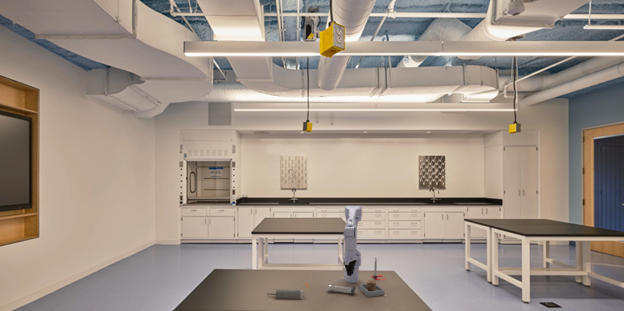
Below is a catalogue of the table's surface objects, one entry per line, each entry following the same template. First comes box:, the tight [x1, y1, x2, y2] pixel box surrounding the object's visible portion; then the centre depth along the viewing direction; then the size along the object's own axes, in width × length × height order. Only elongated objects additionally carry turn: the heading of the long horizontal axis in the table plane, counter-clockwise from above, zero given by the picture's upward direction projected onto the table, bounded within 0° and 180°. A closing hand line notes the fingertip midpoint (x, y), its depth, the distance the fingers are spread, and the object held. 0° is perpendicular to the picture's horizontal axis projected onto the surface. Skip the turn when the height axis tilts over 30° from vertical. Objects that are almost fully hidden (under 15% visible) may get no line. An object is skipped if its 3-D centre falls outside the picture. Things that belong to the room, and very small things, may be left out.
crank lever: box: [326, 283, 356, 296], centre depth 179 cm, size 15×4×3 cm, turn 71°
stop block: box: [366, 279, 377, 291], centre depth 180 cm, size 4×4×5 cm
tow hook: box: [371, 257, 387, 281], centre depth 203 cm, size 8×13×9 cm
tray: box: [359, 283, 385, 297], centre depth 180 cm, size 11×9×2 cm
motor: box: [266, 282, 311, 300], centre depth 183 cm, size 23×22×5 cm
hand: (350, 274), depth 183 cm, fingers open, 3 cm apart
